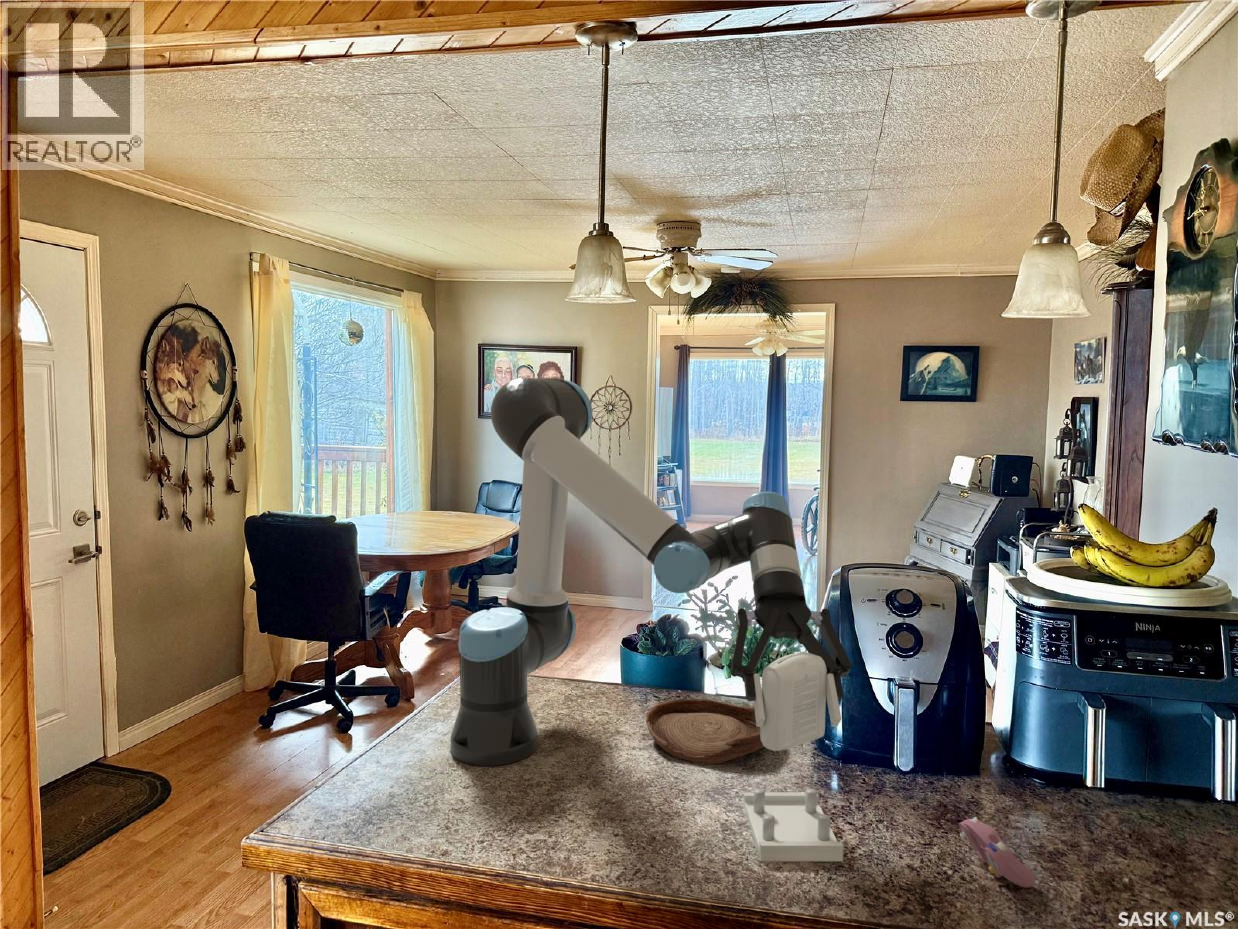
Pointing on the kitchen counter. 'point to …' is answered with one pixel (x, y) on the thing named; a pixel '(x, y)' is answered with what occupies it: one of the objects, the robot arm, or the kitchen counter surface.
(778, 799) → the white pegged stand
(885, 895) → the kitchen counter surface
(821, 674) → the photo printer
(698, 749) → the basket
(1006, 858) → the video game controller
